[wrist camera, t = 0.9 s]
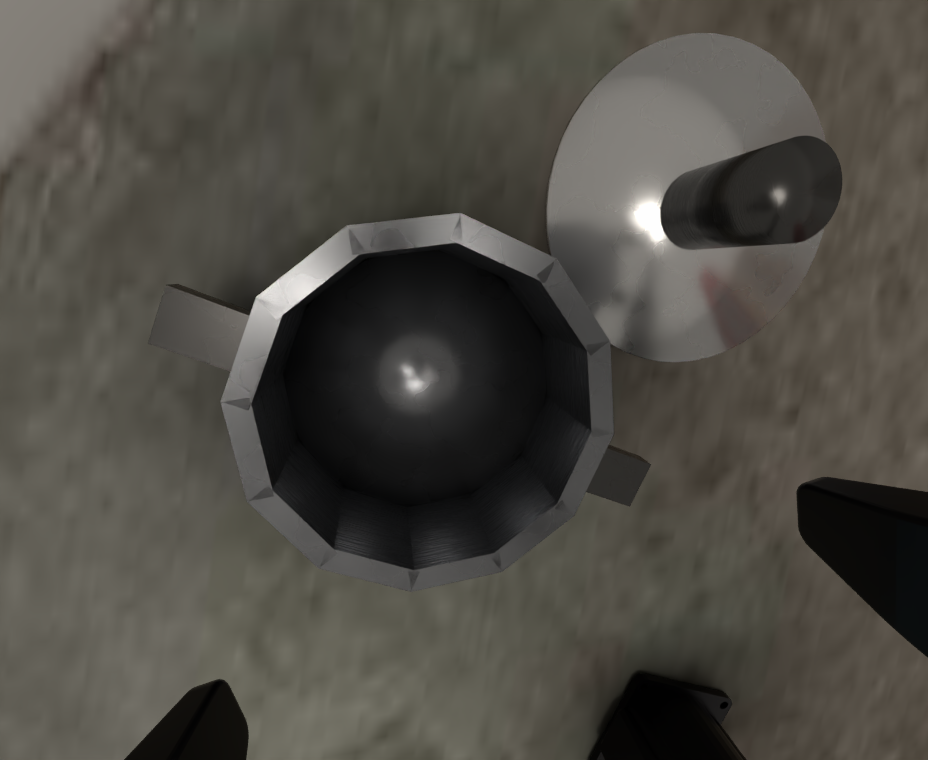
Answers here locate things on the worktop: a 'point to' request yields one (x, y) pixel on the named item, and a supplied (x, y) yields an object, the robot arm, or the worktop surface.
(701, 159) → the lid
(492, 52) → the worktop surface
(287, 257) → the worktop surface
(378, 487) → the pot
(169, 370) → the worktop surface
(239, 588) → the worktop surface
